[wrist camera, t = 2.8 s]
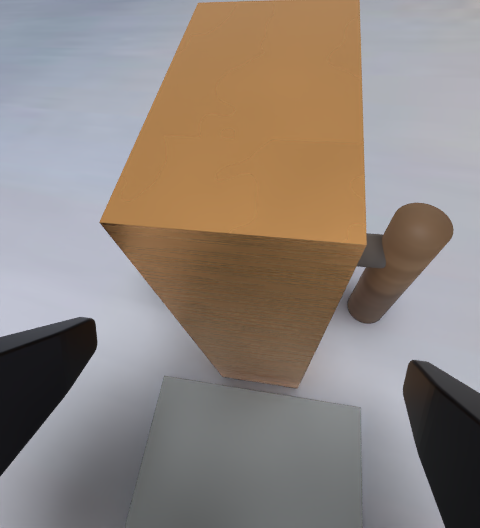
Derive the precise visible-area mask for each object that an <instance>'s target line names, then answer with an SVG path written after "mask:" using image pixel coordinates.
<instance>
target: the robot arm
mask: <svg viewBox="0 0 480 528" xmlns="http://www.w3.org/2000/svg"><path fill="white" fill-rule="evenodd" d="M96 348H97V334H96V324H95V321H94V320H93V319H92V318H85V317H78V318H74V319H70V320H66V321H62V322H58V323H54V324H50V325H46V326H42V327H39V328H35V329H31V330H27V331H23V332H19V333H15V334H11V335H7V336H3V337H0V476H1V475H2V474H3V472H4V471H5V470H6V469H7V468H8V466H9V465H10V464H11V463H12V461H13V460H14V459H15V458H16V456H17V455H18V454H19V453H20V451H21V450H22V449H23V448H24V446H25V445H26V444H27V443H28V441H29V440H30V439H31V438H32V436H33V435H34V434H35V433H36V432H37V430H38V429H39V428H40V427H41V425H42V424H43V423H44V422H45V420H46V419H47V418H48V417H49V415H50V414H51V413H52V412H53V410H54V409H55V408H56V407H57V405H58V404H59V403H60V402H61V401H62V399H63V398H64V397H65V395H66V394H67V393H68V391H69V390H70V388H71V387H72V386H73V384H74V383H75V381H76V380H77V378H78V376H79V375H80V373H81V372H82V370H83V369H84V367H85V366H86V364H87V363H88V361H89V360H90V358H91V357H92V355H93V354H94V352H95V350H96ZM403 396H404V400H405V404H406V408H407V412H408V416H409V420H410V424H411V428H412V432H413V436H414V440H415V444H416V448H417V451H418V454H419V457H420V460H421V463H422V466H423V468H424V471H425V474H426V477H427V479H428V482H429V485H430V487H431V490H432V493H433V495H434V498H435V501H436V504H437V506H438V509H439V512H440V514H441V517H442V520H443V523H444V525H445V528H480V393H478V392H477V391H475V390H473V389H472V388H470V387H468V386H467V385H465V384H464V383H462V382H460V381H459V380H457V379H455V378H454V377H452V376H450V375H449V374H447V373H446V372H444V371H442V370H441V369H439V368H437V367H436V366H434V365H432V364H431V363H429V362H426V361H418V360H412V361H410V363H409V364H408V368H407V373H406V377H405V381H404V385H403Z"/></svg>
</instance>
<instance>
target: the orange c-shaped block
mask: <svg viewBox="0 0 480 528" xmlns="http://www.w3.org/2000/svg"><path fill="white" fill-rule="evenodd" d="M100 224H101V225H102V226H103V227H104V229H105V230H106V231H107V232H108V234H109V235H110V236H111V237H112V239H113V240H114V241H115V242H116V244H117V245H118V246H119V247H120V249H121V250H122V251H123V252H124V254H125V255H126V256H127V257H128V259H129V260H130V261H131V262H132V264H133V265H134V266H135V267H136V269H137V270H138V271H139V272H140V274H141V275H142V276H143V277H144V279H145V280H146V281H147V283H148V284H149V285H150V286H151V288H152V289H153V290H154V291H155V293H156V294H157V295H158V296H159V298H160V299H161V300H162V301H163V303H164V304H165V305H166V306H167V308H168V309H169V310H170V311H171V313H172V314H173V315H174V316H175V318H176V319H177V320H178V321H179V323H180V324H181V325H182V326H183V328H184V329H185V330H186V331H187V333H188V334H189V335H190V336H191V338H192V339H193V340H194V341H195V343H196V344H197V345H198V346H199V348H200V349H201V350H202V351H203V353H204V354H205V355H206V356H207V358H208V359H209V360H210V362H211V363H212V364H213V365H214V367H215V368H216V369H217V370H218V372H219V373H220V374H221V375H222V377H228V378H234V379H240V380H247V381H253V382H260V383H266V384H272V385H279V386H285V387H292V388H298V386H299V384H300V382H301V380H302V378H303V376H304V374H305V372H306V370H307V368H308V366H309V364H310V362H311V359H312V357H313V355H314V353H315V351H316V349H317V347H318V345H319V343H320V341H321V339H322V337H323V334H324V332H325V330H326V328H327V326H328V324H329V322H330V320H331V318H332V316H333V314H334V312H335V310H336V307H337V305H338V303H339V301H340V299H341V297H342V295H343V293H344V291H345V289H346V287H347V285H348V283H349V280H350V278H351V276H352V274H353V272H354V270H355V268H356V266H357V264H358V262H359V260H360V258H361V256H362V253H363V251H364V249H365V247H366V245H367V240H366V206H365V172H364V138H363V104H362V70H361V36H360V2H359V0H274V1H241V2H209V3H198V5H197V7H196V9H195V11H194V13H193V16H192V18H191V20H190V22H189V24H188V27H187V29H186V31H185V33H184V36H183V38H182V40H181V42H180V44H179V47H178V49H177V51H176V53H175V56H174V58H173V60H172V62H171V64H170V67H169V69H168V71H167V73H166V76H165V78H164V80H163V82H162V84H161V87H160V89H159V91H158V93H157V96H156V98H155V100H154V102H153V104H152V107H151V109H150V111H149V113H148V116H147V118H146V120H145V122H144V124H143V127H142V129H141V131H140V133H139V136H138V138H137V140H136V142H135V144H134V147H133V149H132V151H131V153H130V156H129V158H128V160H127V162H126V164H125V167H124V169H123V171H122V173H121V176H120V178H119V180H118V182H117V184H116V187H115V189H114V191H113V193H112V195H111V198H110V200H109V202H108V204H107V207H106V209H105V211H104V213H103V215H102V218H101V220H100Z"/></svg>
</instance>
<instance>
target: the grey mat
mask: <svg viewBox="0 0 480 528" xmlns="http://www.w3.org/2000/svg"><path fill="white" fill-rule="evenodd" d="M125 528H362V468H361V407H355V406H349V405H342V404H336V403H330V402H324V401H317V400H311V399H305V398H299V397H293V396H286V395H280V394H274V393H268V392H261V391H255V390H249V389H243V388H237V387H230V386H224V385H218V384H212V383H206V382H199V381H193V380H187V379H181V378H174V377H168V376H164V378H163V382H162V386H161V390H160V394H159V398H158V401H157V405H156V409H155V413H154V417H153V420H152V424H151V428H150V432H149V436H148V440H147V443H146V447H145V451H144V455H143V459H142V463H141V466H140V470H139V474H138V478H137V482H136V485H135V489H134V493H133V497H132V501H131V505H130V508H129V512H128V516H127V520H126V524H125Z"/></svg>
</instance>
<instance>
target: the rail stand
mask: <svg viewBox="0 0 480 528" xmlns="http://www.w3.org/2000/svg"><path fill="white" fill-rule="evenodd" d="M452 235H453V225H452V222H451V220H450V219H449V217H448V216H447V215H446V214H445V213H444V212H443V211H441V210H440V209H438V208H436V207H434V206H432V205H429V204H424V203H411V204H407V205H404V206H402V207H401V208H399V209H398V210H397V211H396V213H395V214H394V216H393V218H392V220H391V222H390V224H389V225H388V227H387V229H386V231H385V233H384V235H380V234H368V233H366V240H367V245H366V247H365V249H364V251H363V253H362V256H361V258H360V260H359V262H358V264H357V266H360V267H366V268H365V270H364V272H363V274H362V275H361V277H360V279H359V281H358V283H357V285H356V287H355V288H354V290H353V292H352V294H351V296H350V298H349V300H348V310H349V312H350V314H351V315H352V316H353V317H354V318H355V319H356V320H358V321H360V322H363V323H374V322H376V321H378V320H379V319H380V318H381V317H382V316H383V315H384V314H385V313H386V312H387V311H388V309H389V308H390V307H391V306H392V305H393V304H394V303H395V302H396V300H397V299H398V298H399V297H400V296H401V295H402V294H403V293H404V291H405V290H406V289H407V288H408V287H409V286H410V285H411V284H412V282H413V281H414V280H415V279H416V278H417V277H418V276H419V275H420V273H421V272H422V271H423V270H424V269H425V268H426V267H427V265H428V264H429V263H430V262H431V261H432V260H433V259H434V258H435V256H436V255H437V254H438V253H439V252H440V251H441V250H442V249H443V247H444V246H445V245H446V244H447V243H448V242H449V241H450V239H451V238H452Z"/></svg>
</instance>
